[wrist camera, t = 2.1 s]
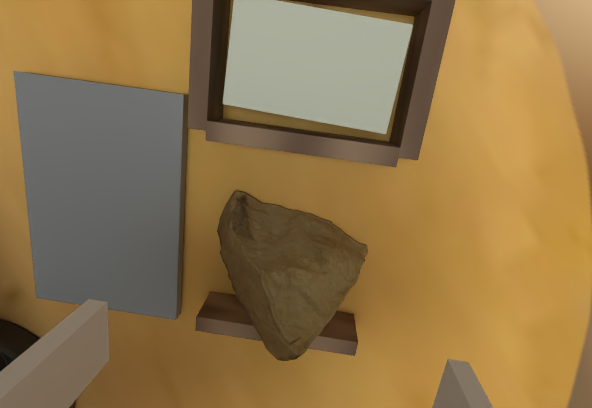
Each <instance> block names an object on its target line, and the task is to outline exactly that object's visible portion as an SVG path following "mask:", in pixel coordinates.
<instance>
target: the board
mask: <svg viewBox="0 0 592 408" xmlns="http://www.w3.org/2000/svg"><path fill="white" fill-rule="evenodd" d="M14 80H15V89H16V99H17V109H18V119H19V129H20V139H21V149H22V158H23V168H24V178H25V188H26V198H27V208H28V218H29V227H30V237H31V247H32V257H33V267H34V277H35V287H36V296H37V298H41V299H47V300H54V301H60V302H66V303H73V304H79V305H82V304H83V303H84V302H85V301H87V300H88V299H92V300H98V301H104V302H108V309H110V310H117V311H123V312H129V313H136V314H142V315H148V316H155V317H161V318H167V319H174V320H176V319H177V318H178V316H179V315H180V313H181V292H182V265H183V239H184V213H185V187H186V160H187V134H188V128H187V127H188V101H189V95H186V94H179V93H171V92H164V91H157V90H150V89H142V88H135V87H128V86H120V85H113V84H106V83H99V82H91V81H84V80H77V79H69V78H62V77H55V76H48V75H40V74H33V73H26V72H16V71H14Z"/></svg>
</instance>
